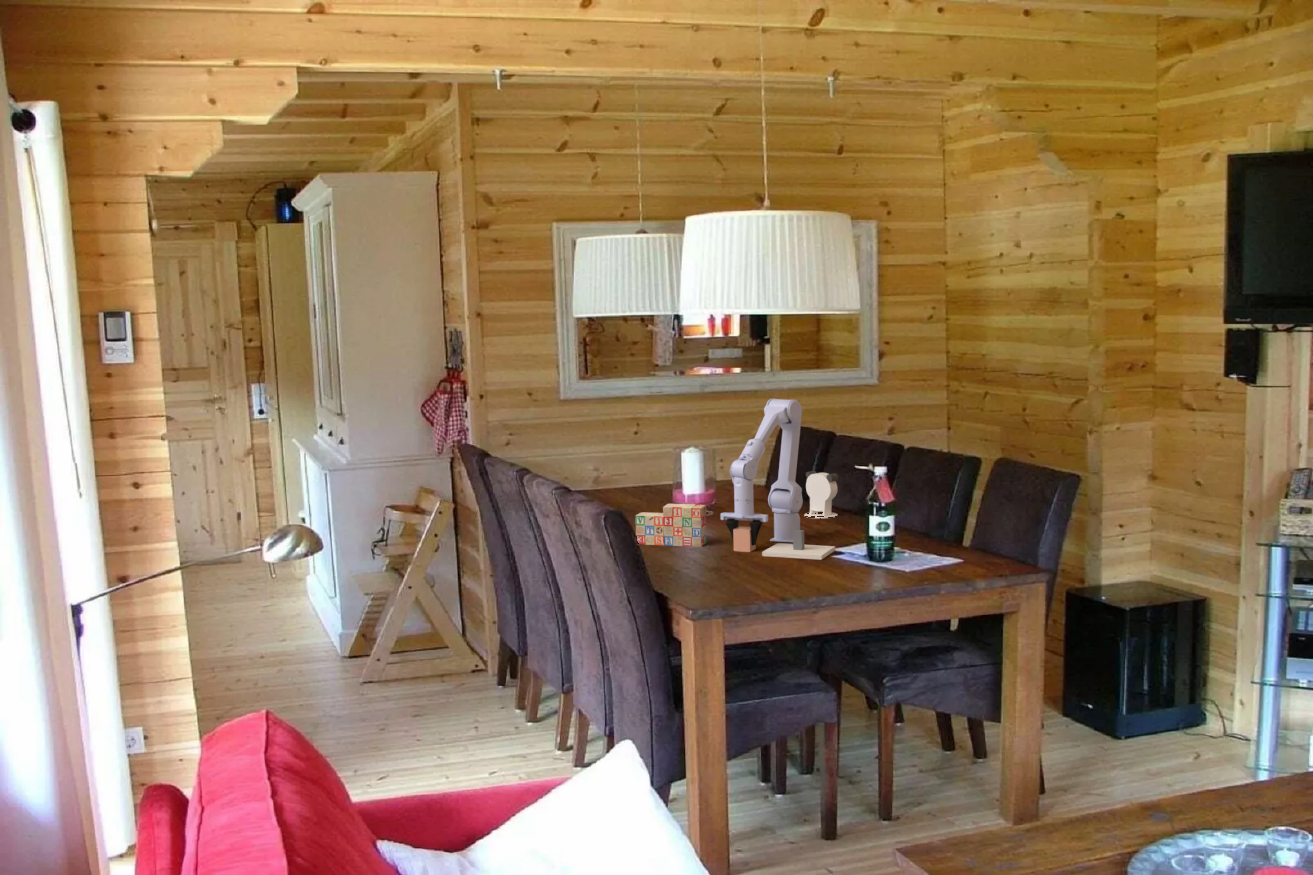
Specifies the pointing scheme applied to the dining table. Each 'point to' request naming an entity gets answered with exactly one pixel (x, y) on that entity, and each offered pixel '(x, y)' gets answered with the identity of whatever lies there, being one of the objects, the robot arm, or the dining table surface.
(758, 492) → the dining table surface
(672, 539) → the stack of blocks
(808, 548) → the post board
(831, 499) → the beige rounded figure
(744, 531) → the salmon orange block
